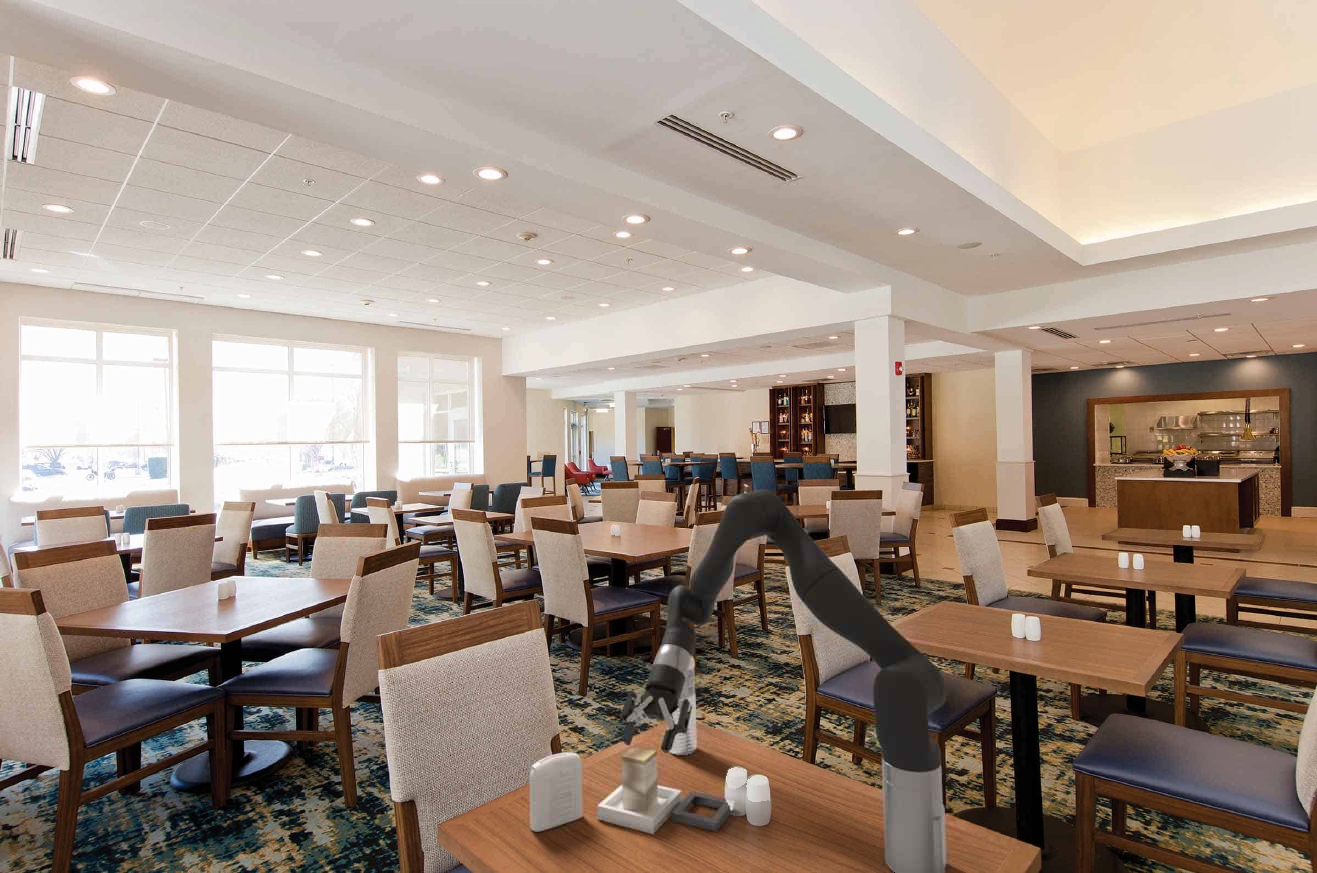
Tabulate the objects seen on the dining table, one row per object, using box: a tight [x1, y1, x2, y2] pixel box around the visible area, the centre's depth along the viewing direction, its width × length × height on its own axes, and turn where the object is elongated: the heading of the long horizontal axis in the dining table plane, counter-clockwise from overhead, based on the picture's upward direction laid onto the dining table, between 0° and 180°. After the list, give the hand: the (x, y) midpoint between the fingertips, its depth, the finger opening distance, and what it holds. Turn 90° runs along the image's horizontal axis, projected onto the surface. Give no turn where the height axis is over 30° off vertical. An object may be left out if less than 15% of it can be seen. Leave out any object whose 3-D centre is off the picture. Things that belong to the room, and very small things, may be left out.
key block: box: [621, 746, 658, 815], centre depth 131 cm, size 5×5×10 cm
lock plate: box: [671, 791, 732, 833], centre depth 129 cm, size 9×9×2 cm
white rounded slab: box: [529, 752, 584, 833], centre depth 128 cm, size 10×4×12 cm, turn 123°
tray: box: [596, 784, 683, 835], centre depth 131 cm, size 12×12×2 cm
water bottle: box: [666, 655, 698, 756], centre depth 158 cm, size 7×7×25 cm
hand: (644, 747), depth 133 cm, fingers open, 8 cm apart
